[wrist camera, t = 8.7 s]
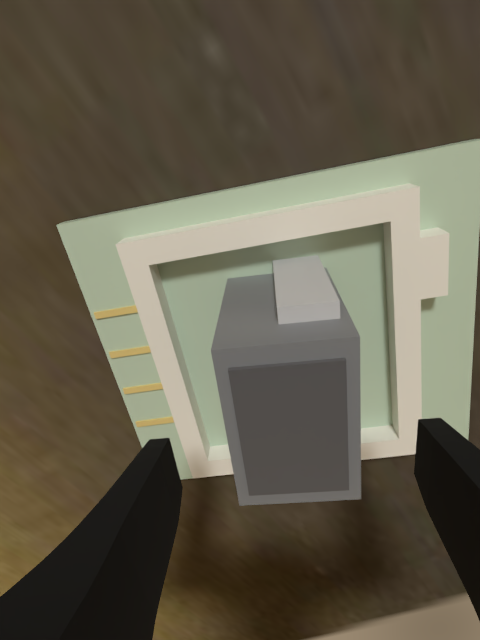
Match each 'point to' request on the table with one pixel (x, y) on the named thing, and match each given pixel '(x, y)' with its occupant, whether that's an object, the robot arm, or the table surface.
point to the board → (257, 259)
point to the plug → (289, 385)
